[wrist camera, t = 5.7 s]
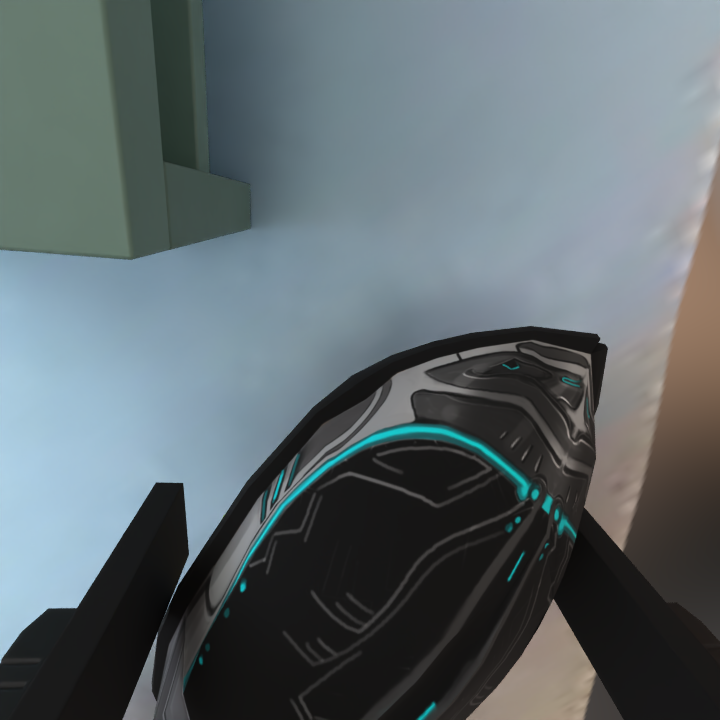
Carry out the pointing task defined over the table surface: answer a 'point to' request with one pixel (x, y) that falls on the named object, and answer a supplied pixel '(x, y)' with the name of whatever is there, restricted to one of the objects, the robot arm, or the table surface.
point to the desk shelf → (108, 130)
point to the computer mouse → (393, 540)
